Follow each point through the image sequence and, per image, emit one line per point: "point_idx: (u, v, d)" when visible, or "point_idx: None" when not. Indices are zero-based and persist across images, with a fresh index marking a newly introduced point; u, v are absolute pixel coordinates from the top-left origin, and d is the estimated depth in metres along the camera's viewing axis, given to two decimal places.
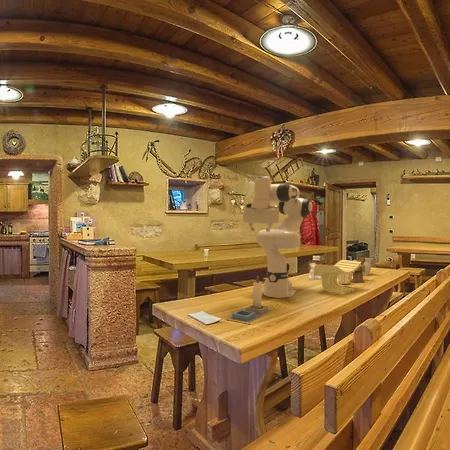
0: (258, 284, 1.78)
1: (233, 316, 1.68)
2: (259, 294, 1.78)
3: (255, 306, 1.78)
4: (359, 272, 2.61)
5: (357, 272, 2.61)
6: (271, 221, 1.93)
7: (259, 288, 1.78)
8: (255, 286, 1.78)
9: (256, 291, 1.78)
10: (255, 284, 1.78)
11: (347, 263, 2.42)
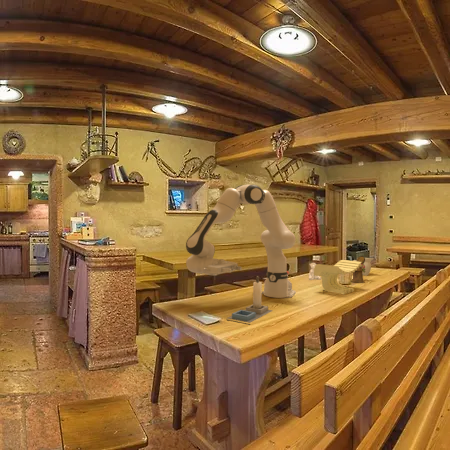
0: (258, 284, 1.78)
1: (233, 316, 1.68)
2: (259, 294, 1.78)
3: (255, 306, 1.78)
4: (359, 272, 2.61)
5: (357, 272, 2.61)
6: (219, 273, 1.83)
7: (259, 288, 1.78)
8: (255, 286, 1.78)
9: (256, 291, 1.78)
10: (255, 284, 1.78)
11: (347, 263, 2.42)
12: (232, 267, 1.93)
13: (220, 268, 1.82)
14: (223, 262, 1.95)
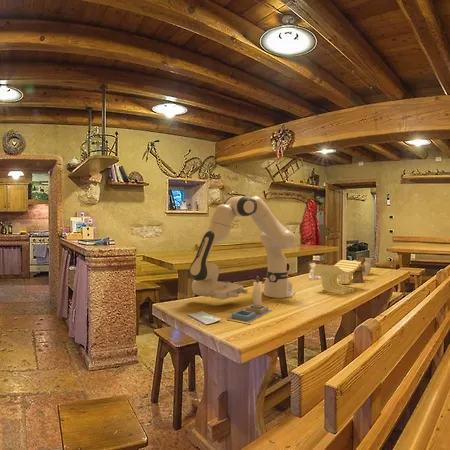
0: (258, 284, 1.78)
1: (233, 316, 1.68)
2: (259, 294, 1.78)
3: (255, 306, 1.78)
4: (359, 272, 2.61)
5: (357, 272, 2.61)
6: None
7: (259, 288, 1.78)
8: (255, 286, 1.78)
9: (256, 291, 1.78)
10: (255, 284, 1.78)
11: (347, 263, 2.42)
12: (238, 290, 1.91)
13: (226, 293, 1.81)
14: (229, 285, 1.94)
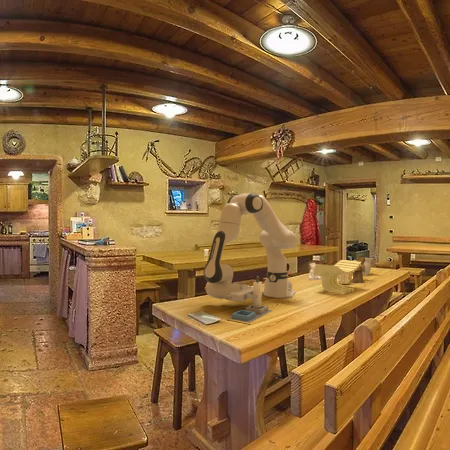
0: (258, 284, 1.78)
1: (233, 316, 1.68)
2: (259, 294, 1.78)
3: (255, 306, 1.78)
4: (359, 272, 2.61)
5: (357, 272, 2.61)
6: None
7: (259, 288, 1.78)
8: (255, 286, 1.78)
9: (256, 291, 1.78)
10: (255, 284, 1.78)
11: (347, 263, 2.42)
12: None
13: (243, 295, 1.76)
14: (244, 287, 1.89)
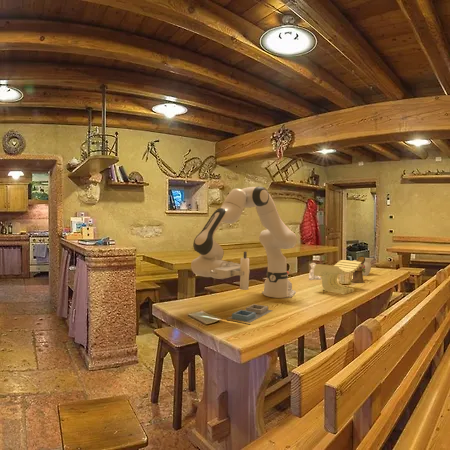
0: (245, 260, 1.67)
1: (233, 316, 1.68)
2: (246, 270, 1.67)
3: (242, 283, 1.67)
4: (359, 272, 2.61)
5: (357, 272, 2.61)
6: (227, 277, 1.65)
7: (246, 264, 1.67)
8: (242, 262, 1.67)
9: (243, 267, 1.67)
10: (242, 260, 1.67)
11: (347, 263, 2.42)
12: None
13: (229, 271, 1.64)
14: (231, 264, 1.78)
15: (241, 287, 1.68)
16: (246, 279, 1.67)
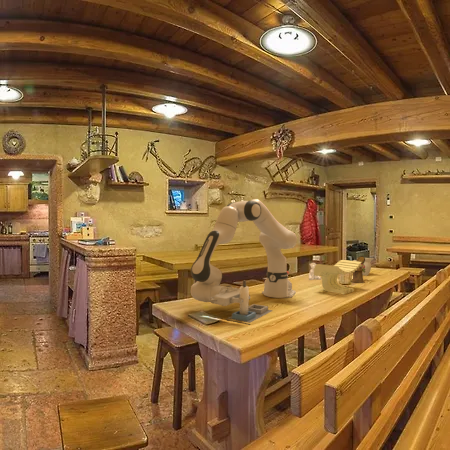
0: (245, 289, 1.67)
1: (233, 316, 1.68)
2: (246, 299, 1.67)
3: (242, 312, 1.67)
4: (359, 272, 2.61)
5: (357, 272, 2.61)
6: None
7: (246, 293, 1.67)
8: (242, 291, 1.67)
9: (243, 296, 1.67)
10: (241, 289, 1.67)
11: (347, 263, 2.42)
12: None
13: (228, 298, 1.65)
14: (231, 289, 1.78)
15: None
16: (246, 308, 1.67)
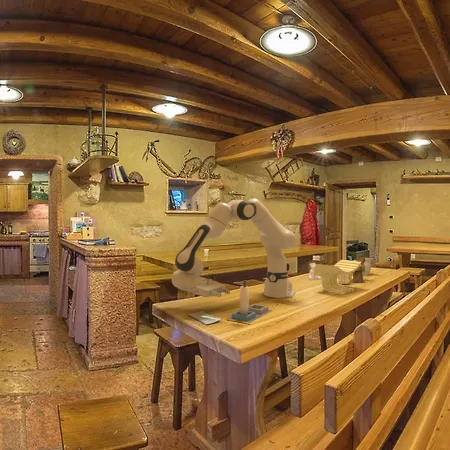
0: (245, 289, 1.67)
1: (233, 316, 1.68)
2: (246, 299, 1.67)
3: (242, 312, 1.67)
4: (359, 272, 2.61)
5: (357, 272, 2.61)
6: None
7: (246, 293, 1.67)
8: (242, 291, 1.67)
9: (243, 296, 1.67)
10: (242, 289, 1.67)
11: (347, 263, 2.42)
12: (220, 289, 1.84)
13: (209, 291, 1.73)
14: (211, 282, 1.86)
15: None
16: (246, 308, 1.67)
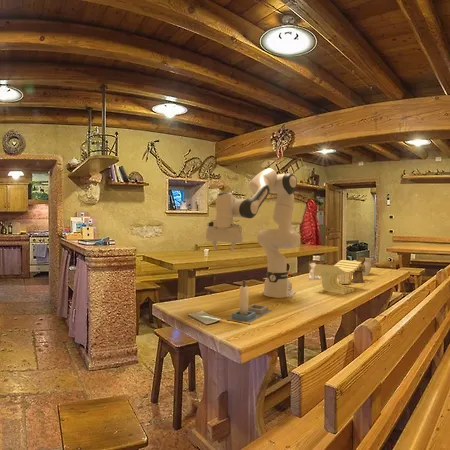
0: (244, 289, 1.67)
1: (233, 316, 1.68)
2: (246, 299, 1.67)
3: (242, 312, 1.67)
4: (359, 272, 2.61)
5: (357, 272, 2.61)
6: (234, 241, 1.85)
7: (246, 293, 1.67)
8: (241, 291, 1.67)
9: (242, 296, 1.67)
10: (241, 289, 1.67)
11: (347, 263, 2.42)
12: None
13: None
14: None
15: None
16: (246, 308, 1.67)
